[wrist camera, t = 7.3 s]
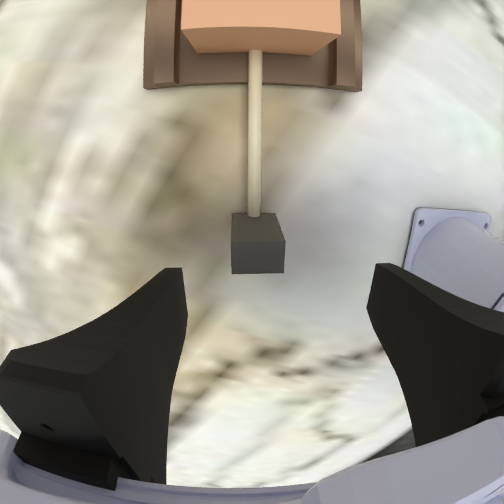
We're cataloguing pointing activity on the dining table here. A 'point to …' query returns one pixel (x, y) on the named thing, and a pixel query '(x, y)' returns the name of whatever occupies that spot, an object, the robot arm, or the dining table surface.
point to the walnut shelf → (247, 56)
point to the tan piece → (259, 93)
